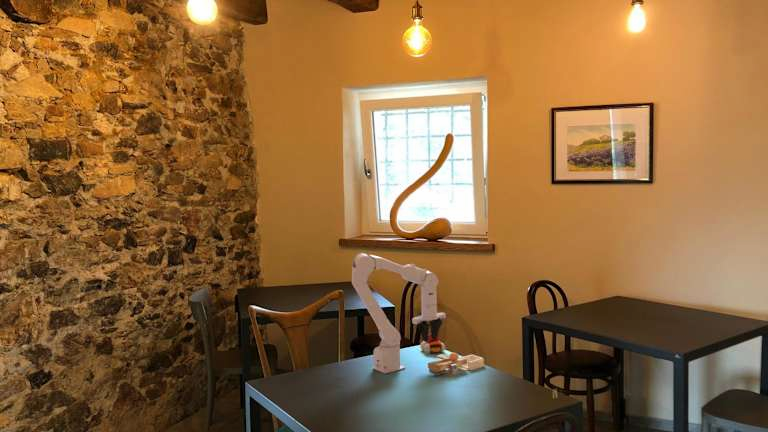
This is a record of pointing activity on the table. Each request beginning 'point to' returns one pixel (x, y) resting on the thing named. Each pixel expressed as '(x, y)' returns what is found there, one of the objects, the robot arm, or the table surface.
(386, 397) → the table surface
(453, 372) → the mount
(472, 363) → the tan shallow rectangular box
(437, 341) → the colorful rounded pieces cluster
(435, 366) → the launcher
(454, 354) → the ball
